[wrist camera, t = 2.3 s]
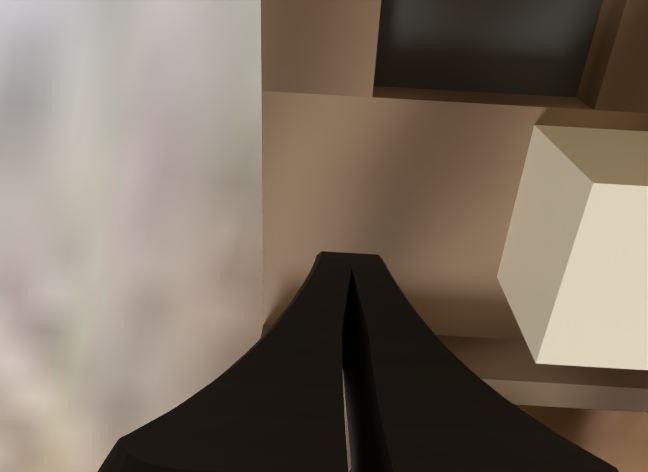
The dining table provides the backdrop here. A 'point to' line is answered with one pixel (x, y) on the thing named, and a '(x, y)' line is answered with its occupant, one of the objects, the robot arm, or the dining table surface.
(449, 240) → the trap box
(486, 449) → the robot arm
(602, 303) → the cream block
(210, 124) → the dining table surface
